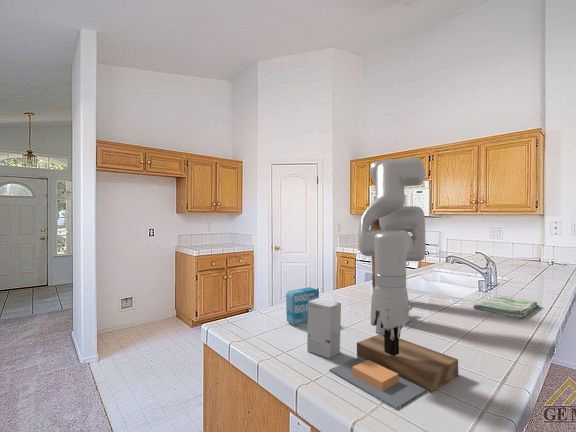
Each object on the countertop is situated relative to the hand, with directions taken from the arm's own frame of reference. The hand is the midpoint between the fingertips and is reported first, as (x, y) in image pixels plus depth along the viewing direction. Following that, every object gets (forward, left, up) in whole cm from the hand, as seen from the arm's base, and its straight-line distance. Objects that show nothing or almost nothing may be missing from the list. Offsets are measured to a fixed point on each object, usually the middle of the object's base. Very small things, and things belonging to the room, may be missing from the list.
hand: (391, 353), depth 79 cm
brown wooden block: (-5, 0, -5) cm, 7 cm away
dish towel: (-81, -4, -6) cm, 81 cm away
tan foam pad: (+7, 0, -2) cm, 7 cm away
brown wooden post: (-52, -43, -5) cm, 68 cm away
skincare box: (+6, -19, -5) cm, 20 cm away
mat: (+7, 0, -5) cm, 8 cm away
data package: (-5, -43, -5) cm, 44 cm away
